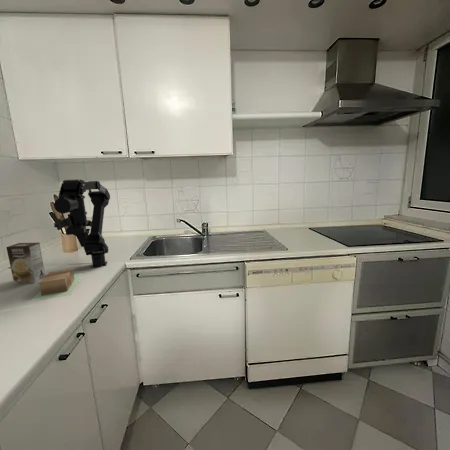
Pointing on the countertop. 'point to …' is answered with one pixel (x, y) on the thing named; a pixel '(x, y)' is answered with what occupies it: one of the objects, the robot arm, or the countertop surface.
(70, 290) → the mat
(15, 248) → the coffee box
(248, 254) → the countertop surface
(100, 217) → the robot arm
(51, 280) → the walnut block
